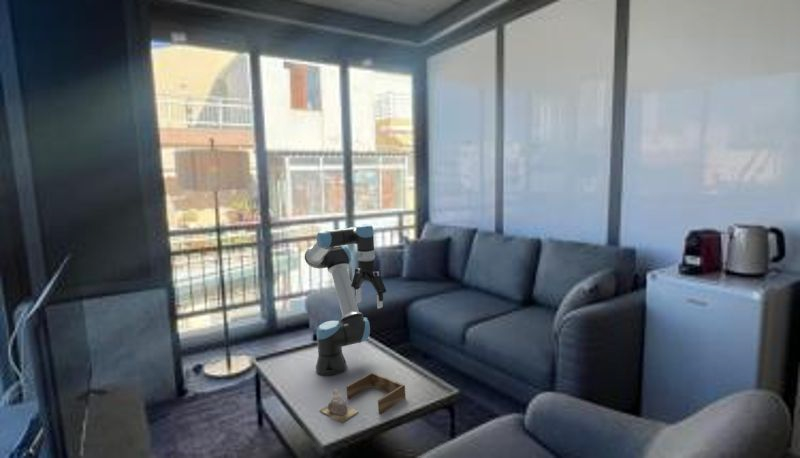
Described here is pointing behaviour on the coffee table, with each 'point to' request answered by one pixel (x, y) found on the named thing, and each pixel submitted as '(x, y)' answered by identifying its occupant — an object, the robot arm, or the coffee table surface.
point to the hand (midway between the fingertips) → (369, 305)
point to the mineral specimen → (337, 404)
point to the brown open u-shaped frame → (392, 387)
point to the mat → (340, 418)
